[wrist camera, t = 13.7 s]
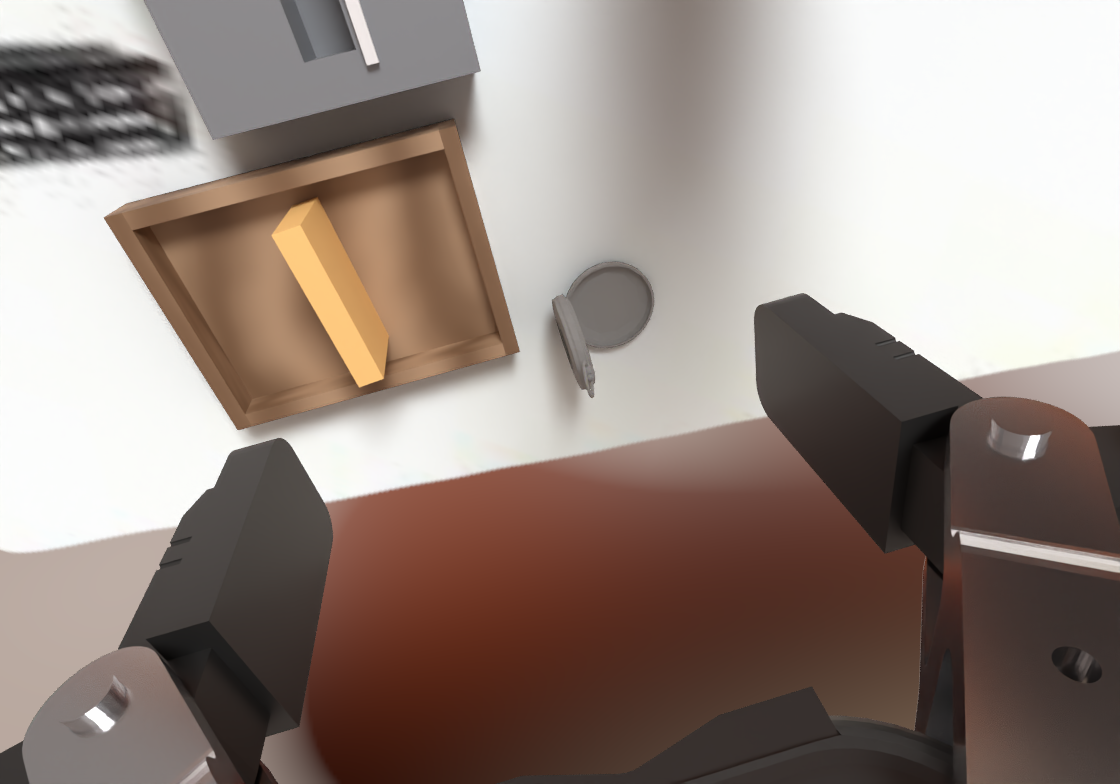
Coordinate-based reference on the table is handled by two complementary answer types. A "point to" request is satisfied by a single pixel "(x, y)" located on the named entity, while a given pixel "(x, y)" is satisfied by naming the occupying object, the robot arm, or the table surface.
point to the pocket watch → (602, 314)
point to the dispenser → (308, 54)
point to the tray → (276, 296)
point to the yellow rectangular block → (333, 289)
